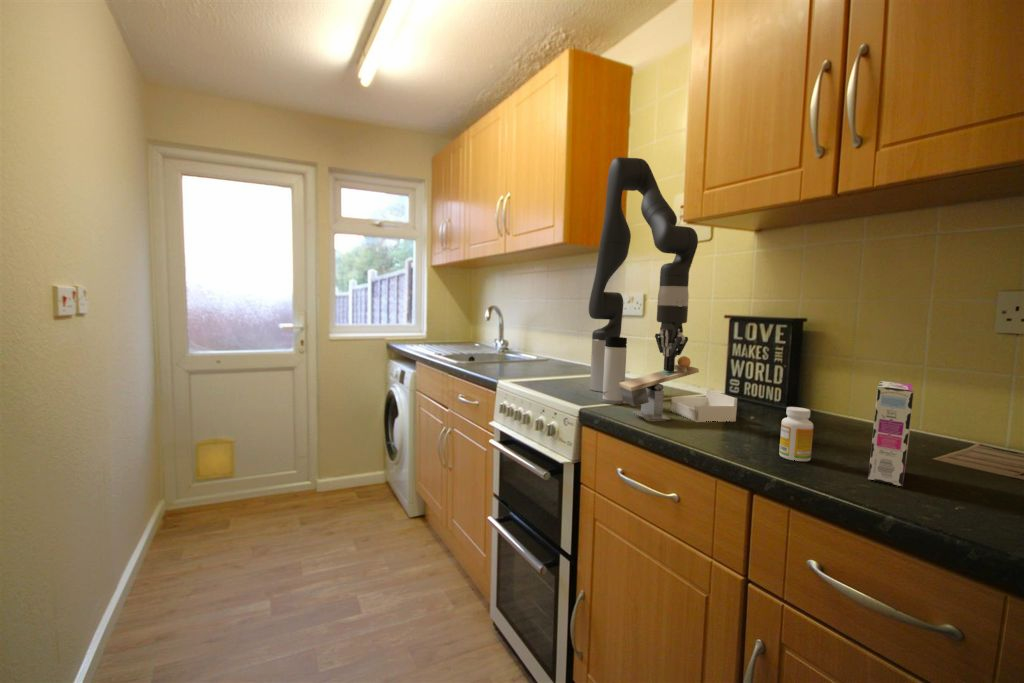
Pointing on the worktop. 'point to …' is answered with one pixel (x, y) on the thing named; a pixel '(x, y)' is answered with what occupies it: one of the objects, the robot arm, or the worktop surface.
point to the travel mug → (614, 369)
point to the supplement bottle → (796, 435)
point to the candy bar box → (891, 432)
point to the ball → (684, 361)
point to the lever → (650, 384)
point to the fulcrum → (653, 404)
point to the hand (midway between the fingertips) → (668, 370)
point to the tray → (706, 407)
